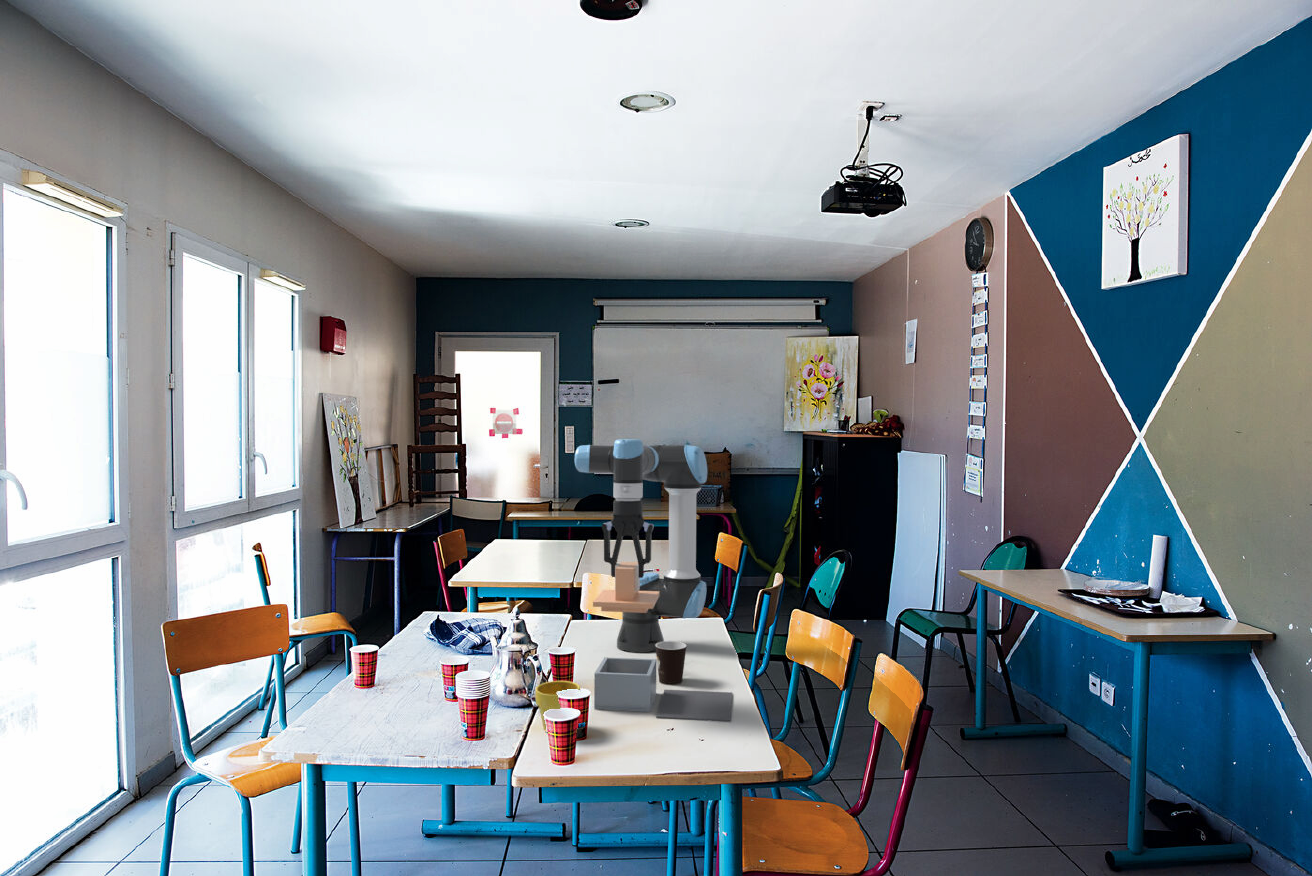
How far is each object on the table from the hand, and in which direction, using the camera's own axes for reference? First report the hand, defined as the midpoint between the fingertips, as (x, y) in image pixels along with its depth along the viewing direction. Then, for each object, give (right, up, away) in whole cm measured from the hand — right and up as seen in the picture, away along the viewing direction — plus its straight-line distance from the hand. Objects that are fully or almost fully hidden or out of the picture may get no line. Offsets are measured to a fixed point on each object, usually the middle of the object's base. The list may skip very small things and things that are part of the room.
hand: (627, 589), depth 206 cm
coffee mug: (+12, -29, +18) cm, 36 cm away
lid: (0, -4, 0) cm, 4 cm away
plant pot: (-16, -29, -19) cm, 38 cm away
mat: (+17, -29, -3) cm, 34 cm away
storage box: (0, -29, 0) cm, 29 cm away
